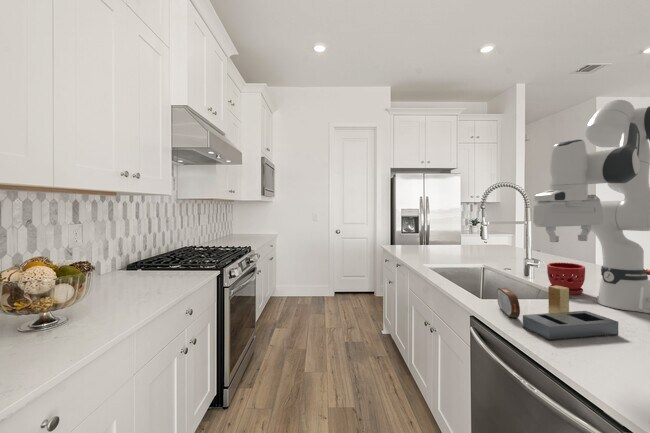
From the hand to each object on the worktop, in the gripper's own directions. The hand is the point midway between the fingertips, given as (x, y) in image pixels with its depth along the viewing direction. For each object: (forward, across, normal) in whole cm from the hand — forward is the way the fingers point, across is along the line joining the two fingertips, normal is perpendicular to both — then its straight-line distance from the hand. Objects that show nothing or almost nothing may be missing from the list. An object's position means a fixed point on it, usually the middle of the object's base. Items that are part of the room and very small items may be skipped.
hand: (568, 241), depth 94 cm
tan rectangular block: (+27, -8, -12) cm, 31 cm away
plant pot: (+27, -36, -38) cm, 59 cm away
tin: (+27, +6, -18) cm, 33 cm away
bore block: (+27, 0, 0) cm, 27 cm away
